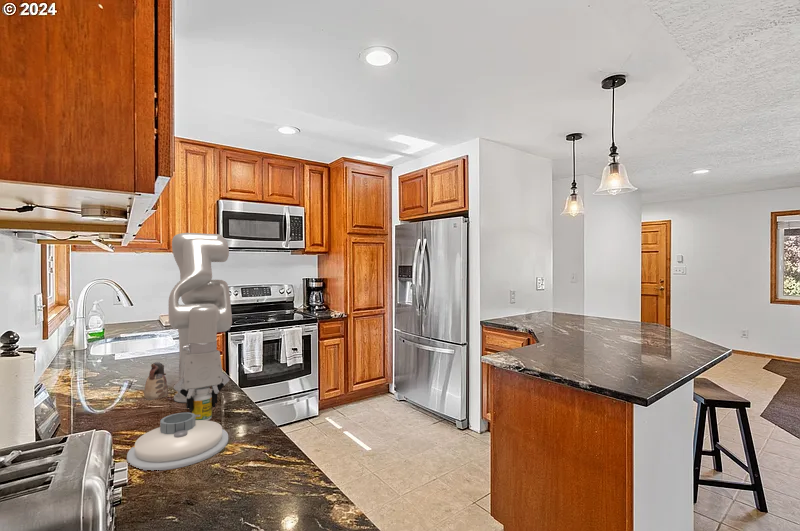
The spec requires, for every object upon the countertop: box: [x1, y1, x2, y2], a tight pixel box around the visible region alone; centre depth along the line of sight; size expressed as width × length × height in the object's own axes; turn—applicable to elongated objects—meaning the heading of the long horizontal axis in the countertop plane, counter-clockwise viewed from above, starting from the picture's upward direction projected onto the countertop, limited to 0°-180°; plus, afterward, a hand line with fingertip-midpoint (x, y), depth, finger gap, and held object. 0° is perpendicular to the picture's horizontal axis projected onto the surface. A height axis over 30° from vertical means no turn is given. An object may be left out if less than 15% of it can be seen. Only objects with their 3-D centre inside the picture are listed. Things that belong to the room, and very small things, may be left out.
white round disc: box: [134, 411, 223, 462], centre depth 96 cm, size 19×19×4 cm
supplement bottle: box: [191, 386, 213, 421], centre depth 114 cm, size 5×5×10 cm
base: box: [126, 428, 229, 472], centre depth 96 cm, size 22×22×1 cm
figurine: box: [143, 361, 169, 400], centre depth 135 cm, size 7×7×12 cm
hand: (202, 407), depth 114 cm, fingers closed on supplement bottle, 5 cm apart
